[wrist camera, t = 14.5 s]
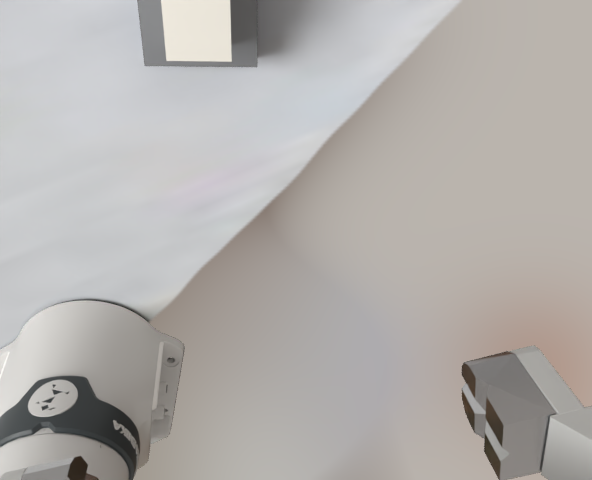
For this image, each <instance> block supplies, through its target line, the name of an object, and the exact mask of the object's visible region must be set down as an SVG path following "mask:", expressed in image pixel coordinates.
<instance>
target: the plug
mask: <svg viewBox="0 0 592 480" xmlns="http://www.w3.org/2000/svg"><path fill="white" fill-rule="evenodd" d="M161 6H162V17H163V28H164V39H165V50H166V61H216V62H232V55H231V13H230V0H161Z"/></svg>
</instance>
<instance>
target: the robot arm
mask: <svg viewBox="0 0 592 480" xmlns="http://www.w3.org/2000/svg"><path fill="white" fill-rule="evenodd" d="M183 354H184V344H183V343H182V342H181V341H179V340H178V339H176V338H174V337H171V336H169V335H166V334H163V333H161V332H159V331H157V330H156V329H155V328H154V327H153V326H151V325H150V324H149V323H148V322H147V321H146V320H145V319H143V318H142V317H141V316H139V315H137V314H136V313H134V312H132V311H130V310H128V309H126V308H123V307H121V306H118V305H114V304H110V303H106V302H100V301H86V300H84V301H71V302H65V303H61V304H57V305H54V306H51V307H49V308H46V309H44V310H42V311H41V312H39V313H37V314H36V315H34V316H33V317H32V318H31V319H30V320H29V321H28V322H27V323H26V324H25V325H24V327H23V328H22V330H21V332H20V333H19V335H18V337H17V338H16V339H15V341H14V342H12V343H11V344H9V345H7V346H6V347H4V348H2V349H1V350H0V480H133V478H134V476H135V474H136V471H137V469H139V468H141V467H142V466H144V465H145V464H146V463H147V462H148V459H149V451H150V444H152V443H155V442H158V441H160V440H162V439H163V438H166V437H168V435H169V434H170V430H171V425H172V419H173V414H174V408H175V402H176V395H177V390H178V384H179V378H180V372H181V366H182V360H183ZM170 357H172V358H170ZM462 376H463V378H464V380H465V382H466V384H465V385H464V387H463V388H462V400H463V405H464V409H465V413H466V415H467V418H468V420H469V423H470V425H471V427H472V429H473V430H474V432H475V433H476V434H478V435H479V436H481V437H482V438H484V439H485V443H484V447H485V448H484V452H485V454H486V456H487V458H488V460H489V462H490V463H491V465H492V467H493V469H494V471H495V473H496V475H497V477H498V479H499V480H507V479H512V478H517V477H522V476H526V475H531V474H535V473H540V472H542V473H541V475H542V476H544V477H545V478H547V479H548V480H592V406H589V407H584V406H583V405H582V404H581V402H580V401H579V400H578V398H577V397H576V396H575V395H574V393H573V392H572V391H571V389H570V388H569V387H568V386H567V384H566V383H565V382H564V380H563V379H562V378H561V376H560V375H559V374H558V373H557V371H556V370H555V369H554V367H553V366H552V365H551V364H550V362H549V361H548V360H547V358H546V357H545V356H544V354H543V353H542V352H541V351H540V349H538V348H537V347H535V346H529V347H525V348H521V349H517V350H513V351H510V352H508V351H506V352H502V353H499V354H495V355H491V356H487V357H483V358H479V359H475V360H471V361H467V362H464V363H463V365H462Z"/></svg>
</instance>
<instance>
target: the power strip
mask: <svg viewBox="0 0 592 480" xmlns="http://www.w3.org/2000/svg"><path fill="white" fill-rule="evenodd" d="M137 2H138V11H139V20H140V29H141V37H142V46H143V55H144V64H145V66H196V67H257V0H230V13H231V55H232V62H216V61H166V50H165V39H164V28H163V17H162V6H161V0H137Z"/></svg>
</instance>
